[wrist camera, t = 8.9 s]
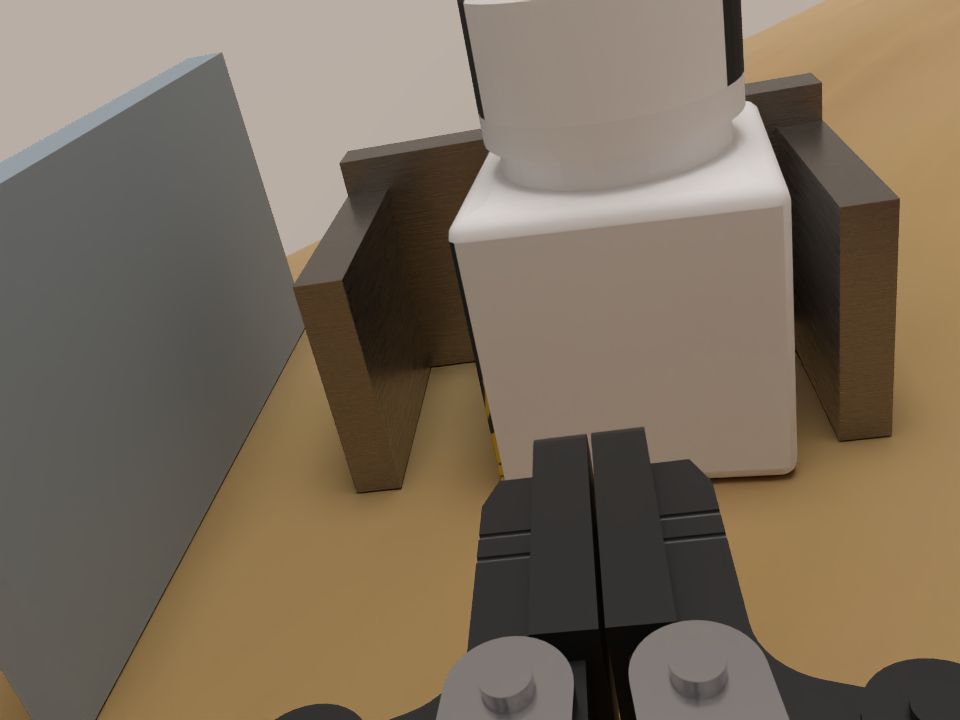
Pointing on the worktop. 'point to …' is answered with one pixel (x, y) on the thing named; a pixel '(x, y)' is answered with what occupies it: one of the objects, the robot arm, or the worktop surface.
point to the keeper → (439, 309)
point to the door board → (125, 367)
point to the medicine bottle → (626, 235)
